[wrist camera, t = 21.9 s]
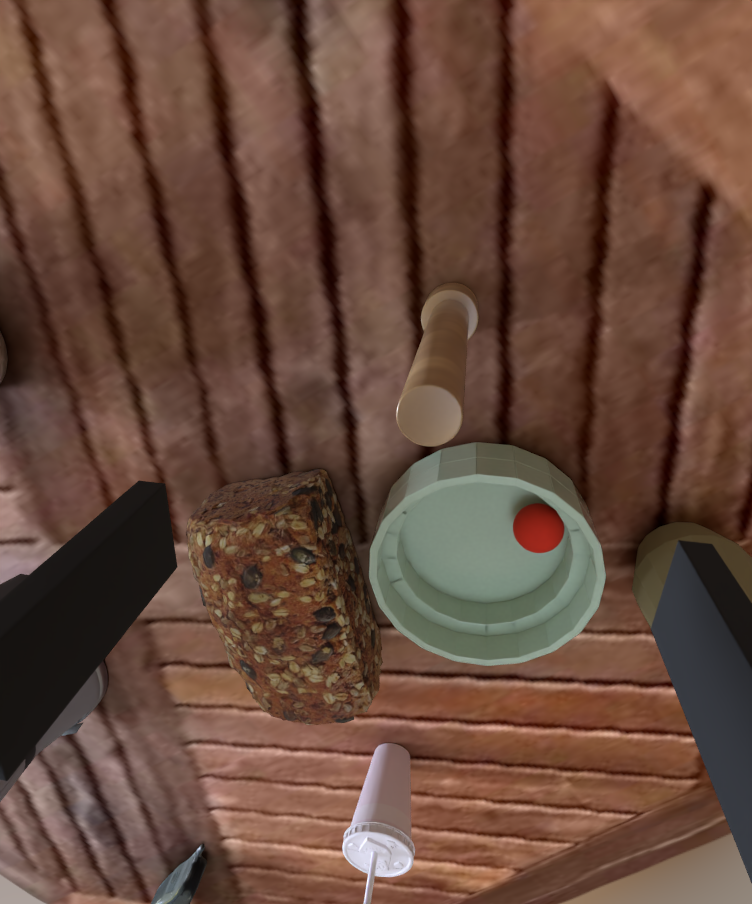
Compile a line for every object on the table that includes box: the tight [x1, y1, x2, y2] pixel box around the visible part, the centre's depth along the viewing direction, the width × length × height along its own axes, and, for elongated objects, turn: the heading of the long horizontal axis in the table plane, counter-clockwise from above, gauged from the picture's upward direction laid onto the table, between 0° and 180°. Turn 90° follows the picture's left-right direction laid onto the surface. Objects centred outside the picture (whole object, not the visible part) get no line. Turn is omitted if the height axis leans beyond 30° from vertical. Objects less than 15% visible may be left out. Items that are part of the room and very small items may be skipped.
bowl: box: [369, 442, 606, 666], centre depth 42 cm, size 16×16×6 cm
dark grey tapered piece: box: [151, 844, 207, 904], centre depth 71 cm, size 5×3×15 cm
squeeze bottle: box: [632, 522, 752, 627], centre depth 35 cm, size 8×8×18 cm
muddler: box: [396, 283, 479, 446], centre depth 29 cm, size 4×4×20 cm
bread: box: [186, 469, 383, 725], centre depth 45 cm, size 19×11×10 cm, turn 14°
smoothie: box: [342, 743, 415, 904], centre depth 51 cm, size 6×6×14 cm
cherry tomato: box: [513, 503, 564, 553], centre depth 41 cm, size 4×4×4 cm
